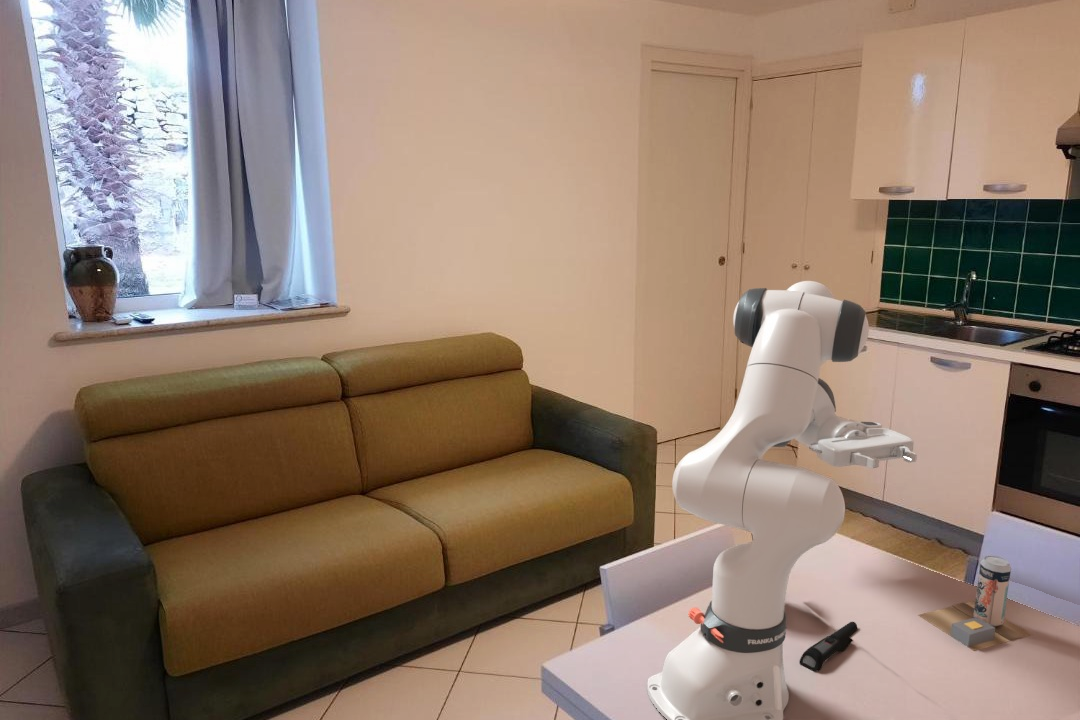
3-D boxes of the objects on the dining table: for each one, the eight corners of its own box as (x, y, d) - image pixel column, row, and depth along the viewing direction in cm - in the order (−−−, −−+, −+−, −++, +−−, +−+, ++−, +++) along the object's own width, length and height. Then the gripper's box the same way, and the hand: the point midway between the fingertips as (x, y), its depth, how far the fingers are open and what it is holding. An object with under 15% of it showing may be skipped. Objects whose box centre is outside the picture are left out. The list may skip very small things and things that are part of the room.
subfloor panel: (972, 658, 130) (974, 649, 129) (916, 622, 141) (917, 614, 140) (1031, 641, 134) (1032, 633, 134) (972, 608, 145) (973, 600, 145)
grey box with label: (968, 647, 130) (969, 633, 130) (950, 635, 134) (952, 622, 133) (993, 639, 132) (995, 626, 132) (975, 629, 136) (977, 616, 135)
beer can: (968, 613, 140) (976, 554, 138) (994, 614, 140) (1003, 554, 137) (980, 627, 136) (989, 566, 133) (1008, 628, 135) (1017, 567, 133)
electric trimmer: (863, 641, 136) (864, 625, 135) (817, 675, 126) (818, 658, 125) (843, 632, 138) (844, 616, 138) (797, 664, 129) (798, 648, 128)
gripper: (805, 431, 155) (854, 452, 142) (883, 421, 162) (936, 440, 149) (802, 460, 156) (851, 483, 144) (880, 449, 163) (932, 470, 151)
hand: (895, 461), depth 147 cm, fingers open, 8 cm apart
